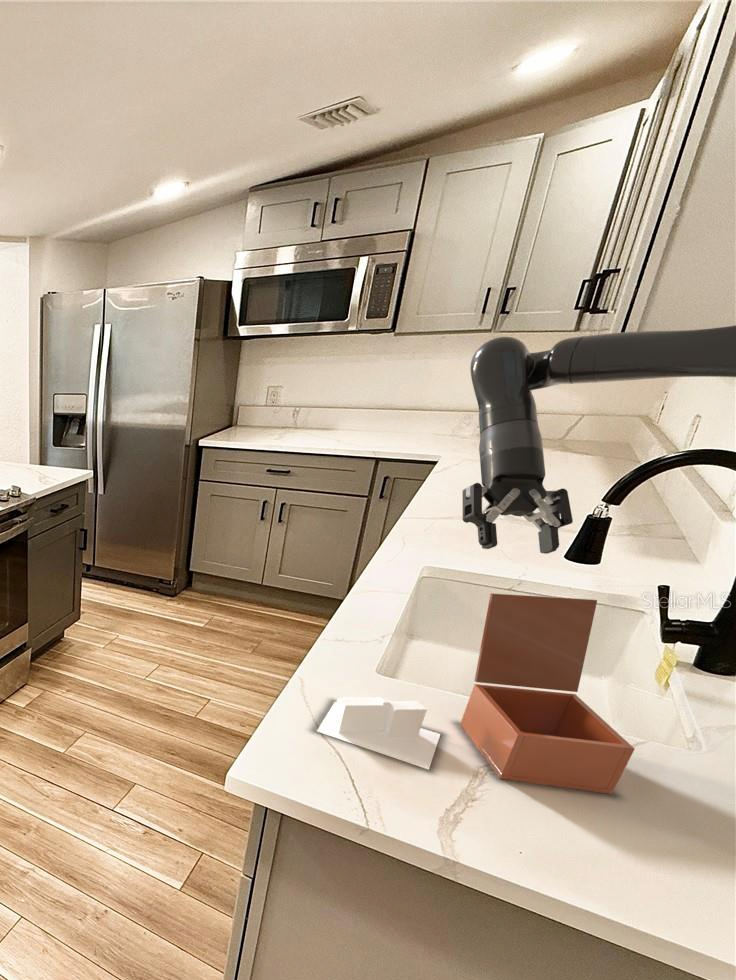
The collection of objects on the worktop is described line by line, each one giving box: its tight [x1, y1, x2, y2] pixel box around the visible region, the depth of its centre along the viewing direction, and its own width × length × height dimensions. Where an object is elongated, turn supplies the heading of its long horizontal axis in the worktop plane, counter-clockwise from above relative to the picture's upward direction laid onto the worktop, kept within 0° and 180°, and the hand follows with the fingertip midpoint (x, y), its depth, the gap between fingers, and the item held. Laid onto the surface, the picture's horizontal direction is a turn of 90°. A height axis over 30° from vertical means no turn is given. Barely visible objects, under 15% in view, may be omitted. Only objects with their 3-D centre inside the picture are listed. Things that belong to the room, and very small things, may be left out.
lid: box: [474, 592, 598, 693], centre depth 93 cm, size 14×13×1 cm
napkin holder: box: [316, 696, 441, 771], centre depth 98 cm, size 15×11×6 cm
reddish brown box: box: [459, 683, 635, 795], centre depth 91 cm, size 14×13×8 cm
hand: (519, 549), depth 96 cm, fingers open, 8 cm apart
